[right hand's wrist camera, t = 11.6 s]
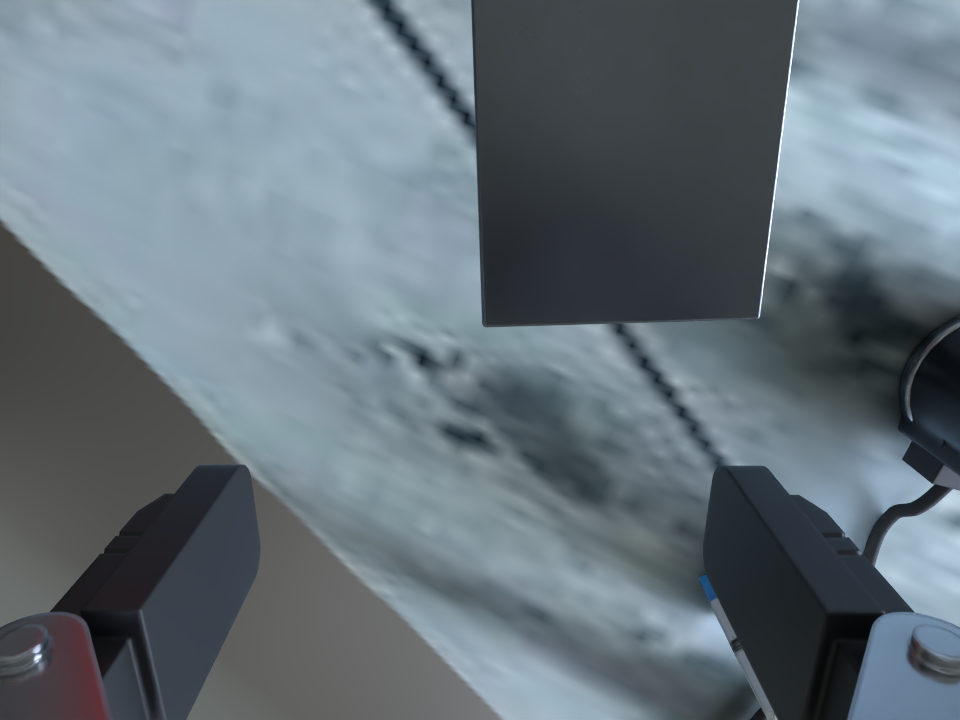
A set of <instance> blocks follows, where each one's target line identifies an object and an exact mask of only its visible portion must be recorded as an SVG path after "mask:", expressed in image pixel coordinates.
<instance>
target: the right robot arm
mask: <svg viewBox="0 0 960 720" xmlns="http://www.w3.org/2000/svg"><path fill="white" fill-rule="evenodd" d="M899 395H900V405H901V409H902V412H903V418H902V421H901V423H900V424H899V426H898V430H899V431H900V432H901V433H903V434H904V435H905V436H907V437H908V438H909V439H911V440H912V442H911V444H910V446H909V448H908V450H907V451H906V453H905V455H904V457H903V461H905V462H906V463H907V464H908V465H910V466H911V467H912V468H913V469H915V470H916V471H917V472H918V473H920V474H921V475H922V476H923V477H925V478H926V479H927V480H928V481H929V482H931V483H932V484H935V485H934V486H933V487H932V488H930V489H929V490H928V491H927V492H926V493H925V494H924V495H922V496H921V497H920V498H918V499H917V500H915V501H913V502H911V503H907V504H897V505H894V506H892V507H890V508H889V509H888V510H887V511H886V512H885V513H884V514H883V515H882V516H881V517H880V519H879V520H878V521H877V523H876V524H875V526H874V527H873V529H872V531H871V533H870V535H869V538H868V540H867V543H866V546H865V550H864V553H863V555H861V554H860V550H859V549H858V548H857V546H856V545H855V544H854V543H853V542H852V541H851V540H850V538H846V537H845V533H844V532H843V530H842V529H841V528H840V527H839V526H838V525H837V524H836V523H835V521H834V520H833V519H832V518H831V517H830V516H829V515H828V513H827V512H825V511H823V510H822V509H820V508H819V507H817V506H815V505H814V504H812V503H811V502H809V501H808V500H806V499H804V498H803V497H801V496H800V495H789V494H788V492H787V491H786V490H785V489H784V488H783V486H782V485H781V484H780V483H779V482H778V480H777V479H776V478H775V477H774V475H773V474H772V473H771V472H770V471H769V469H768V468H766V467H765V466H718V467H717V468H716V470H715V472H714V475H713V479H712V486H711V493H710V500H709V507H708V514H707V521H706V528H705V535H704V542H703V557H704V565H705V570H706V574H707V577H708V580H709V582H710V584H711V586H712V588H713V590H714V592H715V594H716V596H717V598H718V600H719V602H720V604H721V606H722V608H723V610H724V612H725V614H726V616H727V618H728V620H729V623H730V625H731V627H732V629H733V631H734V633H735V635H736V637H737V639H738V641H739V643H740V645H741V647H742V649H743V651H744V653H745V655H746V657H747V659H748V661H749V663H750V665H751V667H752V669H753V671H754V673H755V675H756V677H757V679H758V681H759V683H760V685H761V687H762V689H763V691H764V693H765V695H766V697H767V699H768V701H769V703H770V705H771V707H772V709H773V711H774V713H775V715H776V718H777V720H960V627H958V626H956V625H954V624H951V623H949V622H946V621H944V620H941V619H938V618H935V617H932V616H928V615H924V614H920V613H915V612H914V611H913V610H912V609H911V608H910V607H909V606H908V604H907V603H906V602H905V601H904V600H903V599H902V598H901V596H900V595H899V594H898V593H897V592H896V591H895V590H894V588H893V587H892V586H891V585H890V584H889V583H888V582H887V581H886V579H885V578H884V577H883V576H882V575H881V574H880V573H879V571H878V570H877V569H876V568H875V567H874V566H875V563H876V559H877V556H878V553H879V550H880V547H881V544H882V541H883V539H884V537H885V535H886V533H887V532H888V530H889V529H890V527H891V526H892V525H893V524H894V523H895V522H896V521H897V520H898V519H899V518H901V517H910V516H917V515H920V514H922V513H924V512H925V511H927V510H929V509H930V508H932V507H933V506H934V505H936V504H937V503H938V502H939V501H940V500H941V499H942V498H944V497H945V496H946V495H947V494H948V493H949V492H950V491H951V490H952V489H956V490H960V316H959V317H957V318H955V319H953V320H951V321H949V322H947V323H945V324H944V325H942V326H941V327H939V328H938V329H937V330H935V331H934V332H933V333H932V334H930V335H929V336H928V337H927V338H926V339H925V340H924V341H923V342H922V343H921V344H920V346H919V347H918V348H917V349H916V351H915V352H914V353H913V355H912V356H911V358H910V360H909V361H908V363H907V365H906V368H905V370H904V373H903V375H902V379H901V384H900V394H899ZM259 560H260V538H259V531H258V524H257V517H256V510H255V503H254V495H253V489H252V481H251V475H250V472H249V470H248V468H247V467H246V466H245V465H199V466H197V467H196V468H195V469H194V471H193V472H192V473H191V474H190V475H189V477H188V478H187V479H186V480H185V482H184V483H183V484H182V485H181V487H180V488H179V489H178V490H177V492H176V493H175V494H164V495H162V496H161V497H159V498H158V499H156V500H155V501H153V502H151V503H150V504H148V505H147V506H145V507H144V508H142V509H140V510H139V511H137V512H136V514H135V515H134V516H133V517H132V518H131V519H130V520H129V522H128V523H127V524H126V525H125V526H124V527H123V528H122V530H121V531H120V534H119V536H116V537H115V538H114V539H113V540H112V541H111V542H110V543H109V545H108V546H107V547H106V548H105V551H104V554H100V555H99V556H98V557H97V558H96V560H95V561H94V562H93V563H92V564H91V565H90V566H89V568H88V569H87V570H86V571H85V572H84V573H83V574H82V576H81V577H80V578H79V579H78V580H77V581H76V583H75V584H74V585H73V586H72V587H71V588H70V589H69V590H68V592H67V593H66V594H65V595H64V596H63V597H62V599H61V600H60V601H59V602H58V603H57V604H56V605H55V607H54V608H53V609H52V610H51V611H50V612H48V613H41V614H36V615H32V616H28V617H25V618H22V619H19V620H16V621H14V622H11V623H9V624H6V625H4V626H2V627H0V720H186V719H187V717H188V715H189V713H190V711H191V709H192V706H193V704H194V702H195V700H196V698H197V696H198V694H199V692H200V690H201V688H202V686H203V684H204V682H205V680H206V678H207V676H208V674H209V672H210V670H211V668H212V666H213V663H214V661H215V659H216V657H217V655H218V653H219V651H220V649H221V647H222V645H223V643H224V641H225V639H226V637H227V635H228V633H229V631H230V629H231V627H232V625H233V623H234V621H235V618H236V616H237V614H238V612H239V610H240V608H241V606H242V604H243V602H244V600H245V598H246V596H247V594H248V592H249V590H250V588H251V586H252V584H253V582H254V579H255V577H256V574H257V570H258V566H259ZM750 720H767V718H766V716H765V714H764V712H763V710H762V708H760V709H759V710H758V711H757V712H756V713H755V715H754V716H753V717H752V718H751V719H750Z"/></svg>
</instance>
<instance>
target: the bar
mask: <svg viewBox="0 0 960 720" xmlns="http://www.w3.org/2000/svg"><path fill="white" fill-rule="evenodd" d="M798 6H799V0H471V7H472V36H473V66H474V95H475V125H476V154H477V184H478V213H479V242H480V272H481V301H482V324H483V326H484V327H511V326H544V325H578V324H612V323H646V322H679V321H713V320H747V319H758V318H759V317H760V311H761V303H762V295H763V287H764V279H765V271H766V263H767V255H768V247H769V239H770V231H771V223H772V214H773V206H774V198H775V190H776V182H777V174H778V166H779V158H780V150H781V142H782V134H783V126H784V118H785V110H786V102H787V94H788V86H789V78H790V70H791V62H792V54H793V46H794V38H795V30H796V22H797V14H798Z"/></svg>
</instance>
